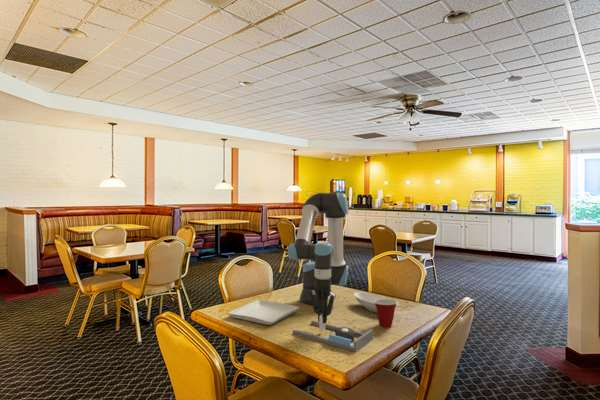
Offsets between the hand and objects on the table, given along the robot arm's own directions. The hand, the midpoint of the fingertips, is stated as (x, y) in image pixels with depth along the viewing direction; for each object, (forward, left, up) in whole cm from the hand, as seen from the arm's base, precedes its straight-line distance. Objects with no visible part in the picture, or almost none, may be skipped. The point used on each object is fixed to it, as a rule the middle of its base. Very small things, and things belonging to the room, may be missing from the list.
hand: (322, 329), depth 158 cm
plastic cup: (+19, +27, -2) cm, 33 cm away
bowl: (+5, +47, -2) cm, 47 cm away
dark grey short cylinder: (+12, 0, -2) cm, 12 cm away
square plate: (-37, +3, -2) cm, 37 cm away
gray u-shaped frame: (+5, 0, -2) cm, 5 cm away
